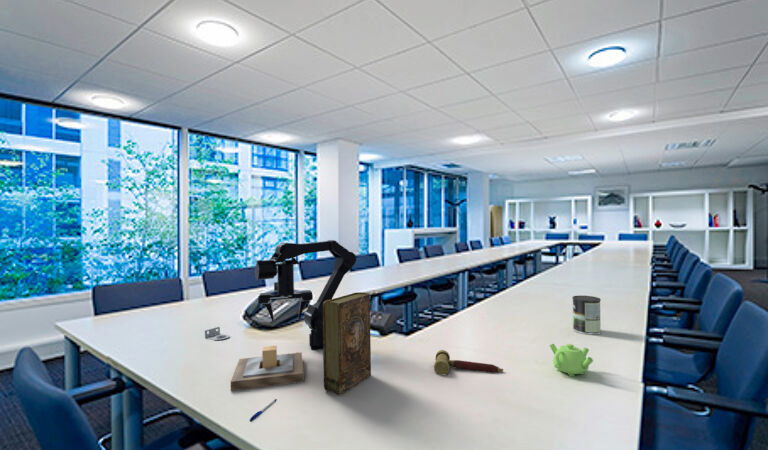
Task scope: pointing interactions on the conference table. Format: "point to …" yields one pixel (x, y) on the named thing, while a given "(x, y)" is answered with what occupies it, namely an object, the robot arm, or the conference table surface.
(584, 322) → the coffee can
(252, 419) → the ballpoint pen
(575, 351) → the teapot
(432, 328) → the conference table surface
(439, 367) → the gavel
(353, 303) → the book
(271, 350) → the tan cardboard-colored box
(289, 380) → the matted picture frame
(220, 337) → the bracket
